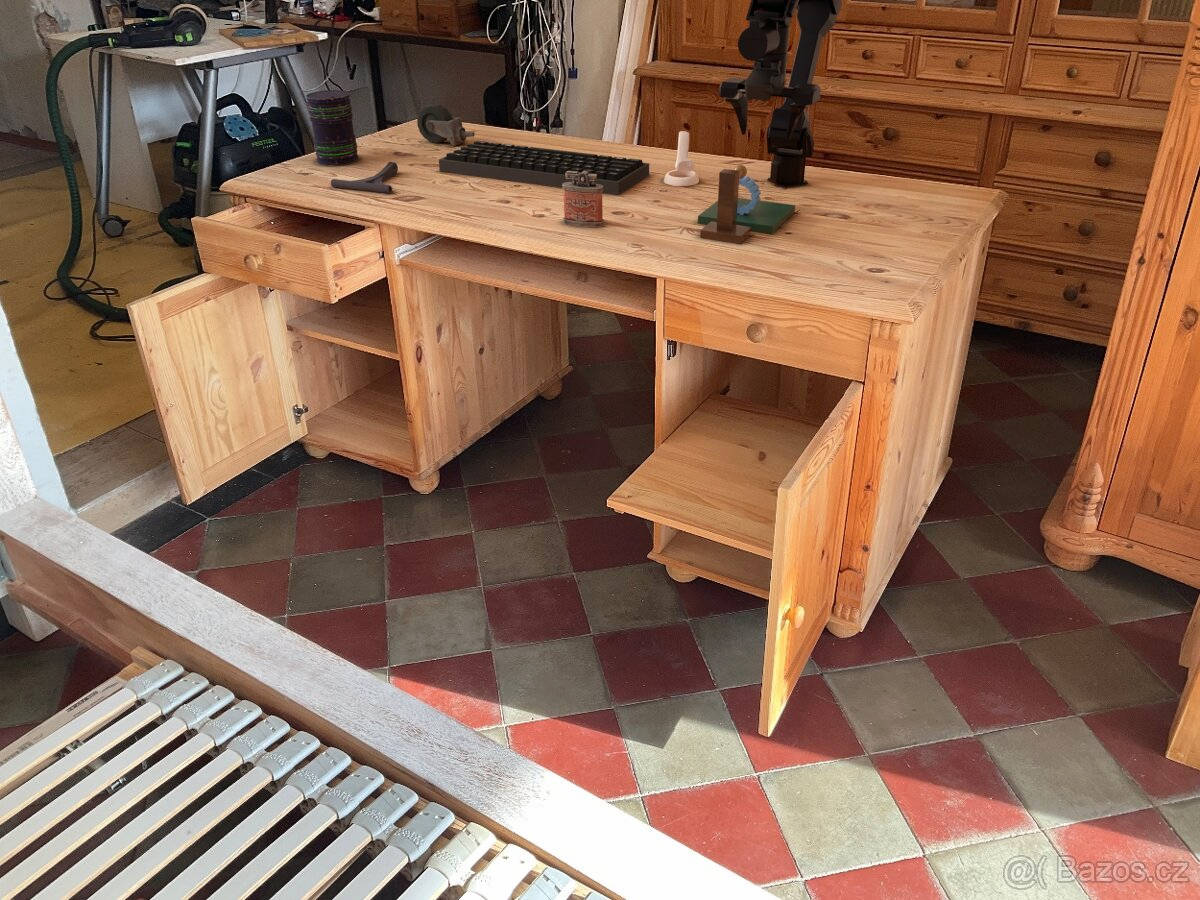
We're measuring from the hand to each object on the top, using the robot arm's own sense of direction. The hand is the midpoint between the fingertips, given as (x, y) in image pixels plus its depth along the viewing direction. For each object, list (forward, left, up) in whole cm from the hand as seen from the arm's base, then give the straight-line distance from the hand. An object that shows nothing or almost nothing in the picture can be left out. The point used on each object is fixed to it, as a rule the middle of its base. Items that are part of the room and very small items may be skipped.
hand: (765, 136), depth 192 cm
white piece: (+8, -20, -13) cm, 25 cm away
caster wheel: (+45, -75, -13) cm, 88 cm away
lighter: (+38, -3, -13) cm, 40 cm away
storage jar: (+73, -71, -13) cm, 103 cm away
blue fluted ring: (+9, +9, -12) cm, 17 cm away
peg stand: (+15, +14, -13) cm, 24 cm away
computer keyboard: (+33, -39, -13) cm, 53 cm away
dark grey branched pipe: (+68, -49, -13) cm, 85 cm away
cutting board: (+8, +8, -13) cm, 17 cm away
